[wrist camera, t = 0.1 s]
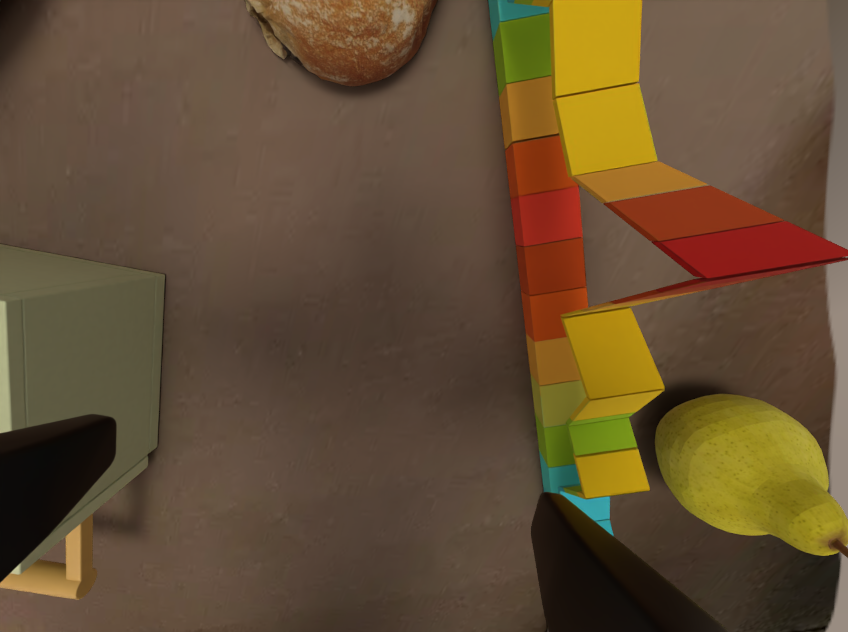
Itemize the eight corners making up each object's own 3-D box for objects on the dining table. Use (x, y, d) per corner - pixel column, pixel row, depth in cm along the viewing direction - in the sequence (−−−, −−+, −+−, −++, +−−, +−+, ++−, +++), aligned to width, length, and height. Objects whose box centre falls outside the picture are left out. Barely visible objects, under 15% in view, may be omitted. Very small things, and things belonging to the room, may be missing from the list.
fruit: (747, 367, 23) (1081, 510, 11) (745, 469, 24) (1039, 690, 13) (629, 383, 23) (835, 540, 12) (634, 484, 25) (821, 713, 13)
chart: (596, 512, 25) (833, 907, 10) (547, 519, 25) (712, 918, 11) (552, -29, 19) (1000, -959, 4) (486, -16, 19) (691, -872, 4)
